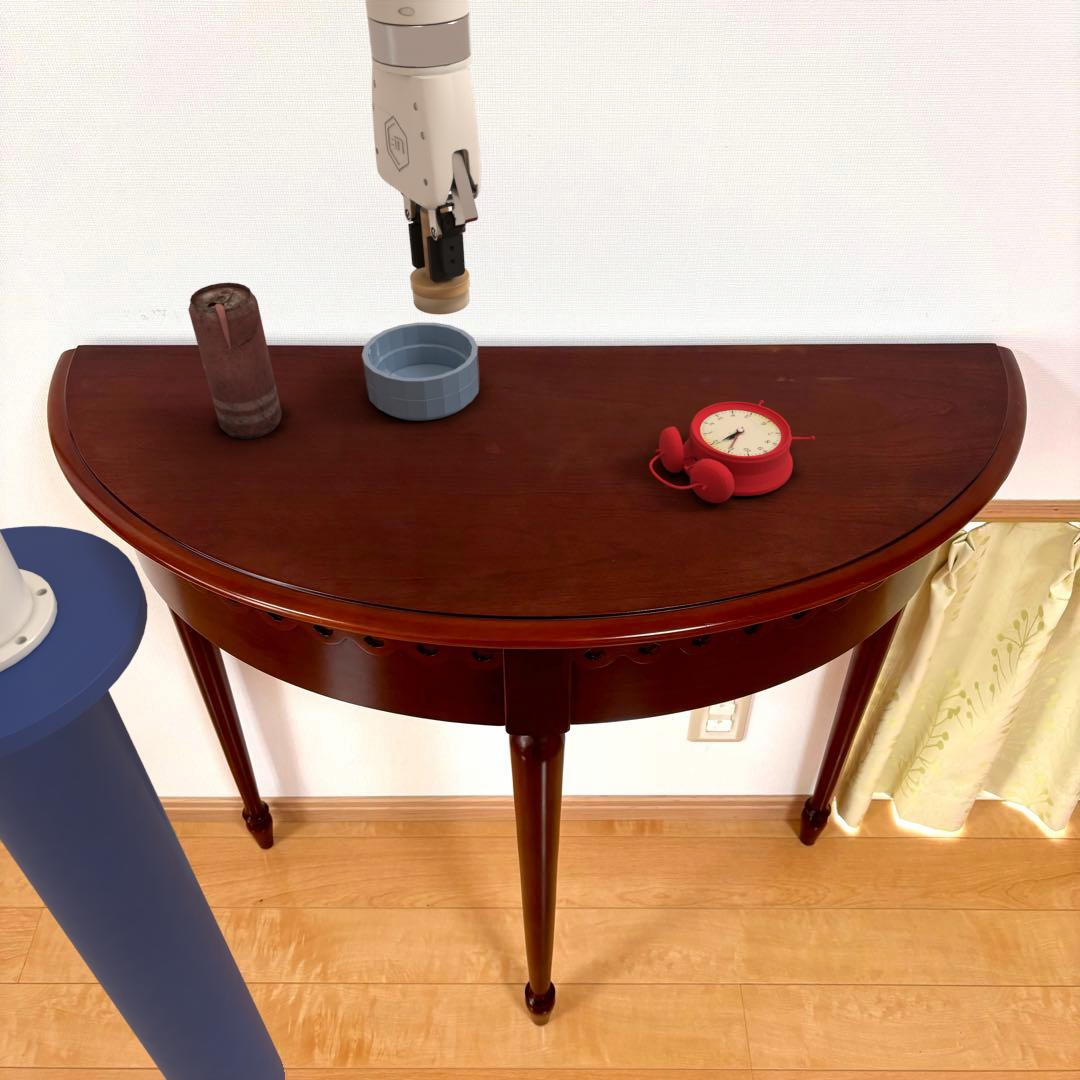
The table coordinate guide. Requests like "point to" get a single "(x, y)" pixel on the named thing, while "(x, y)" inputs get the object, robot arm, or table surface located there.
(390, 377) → the bowl
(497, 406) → the table surface
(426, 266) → the dish brush
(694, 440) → the alarm clock
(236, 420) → the can
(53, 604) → the robot arm
